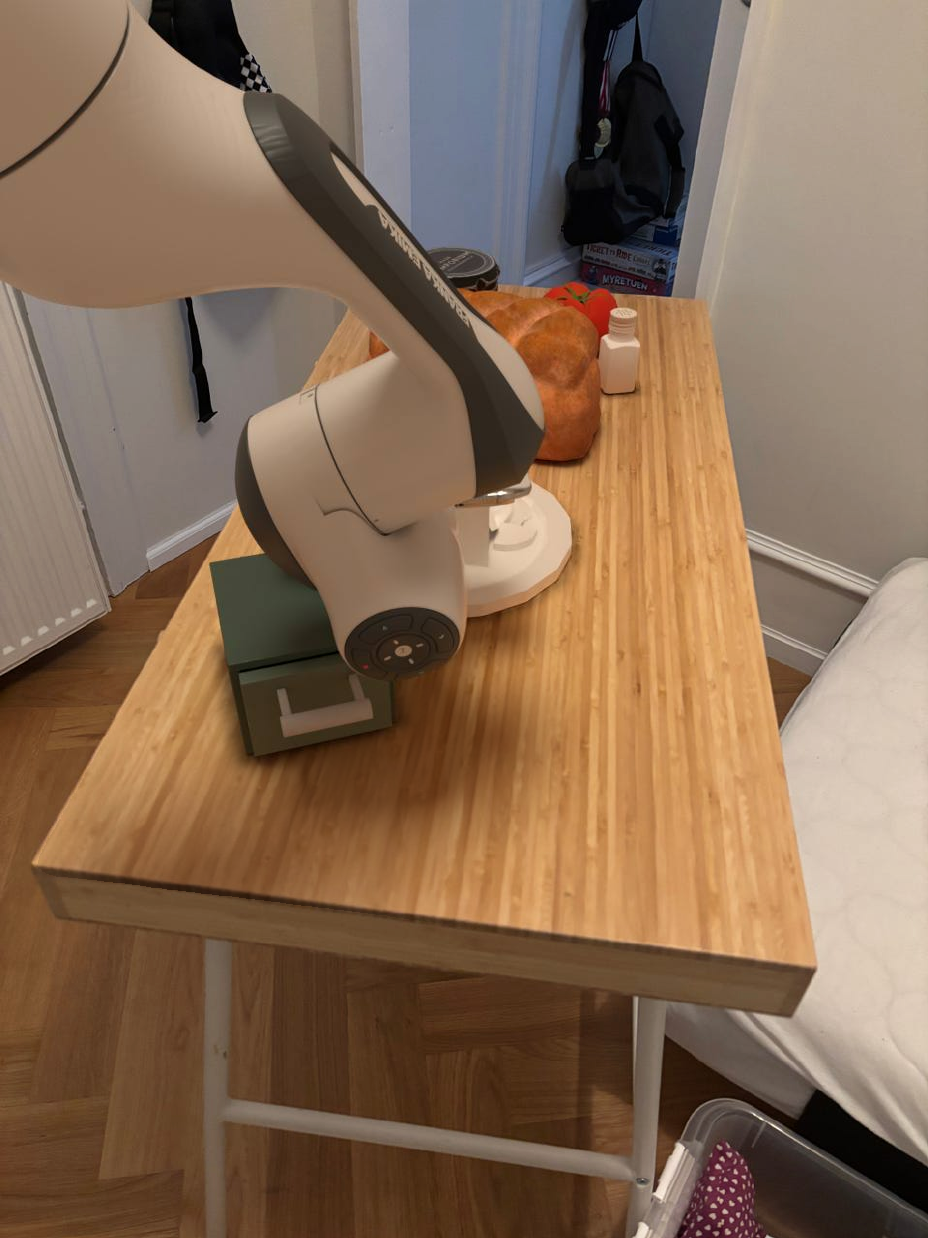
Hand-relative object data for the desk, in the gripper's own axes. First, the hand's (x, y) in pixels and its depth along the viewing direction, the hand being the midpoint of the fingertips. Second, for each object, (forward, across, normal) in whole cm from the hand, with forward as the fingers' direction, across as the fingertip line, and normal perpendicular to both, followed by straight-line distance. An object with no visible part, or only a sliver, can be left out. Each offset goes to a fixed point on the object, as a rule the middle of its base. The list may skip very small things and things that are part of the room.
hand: (387, 416), depth 78 cm
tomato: (+47, -26, +15) cm, 56 cm away
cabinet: (-16, +8, +15) cm, 23 cm away
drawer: (-20, +7, +14) cm, 25 cm away
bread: (+26, -11, +15) cm, 32 cm away
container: (+53, -10, +15) cm, 56 cm away
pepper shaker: (+34, -29, +15) cm, 47 cm away
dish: (+3, -5, +15) cm, 16 cm away
